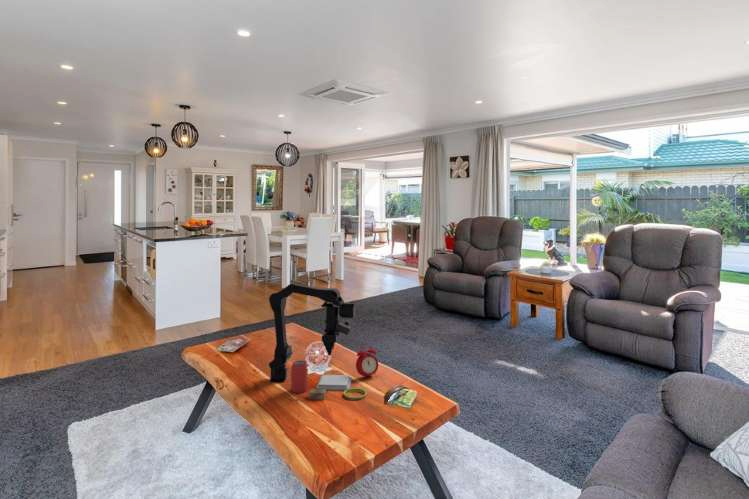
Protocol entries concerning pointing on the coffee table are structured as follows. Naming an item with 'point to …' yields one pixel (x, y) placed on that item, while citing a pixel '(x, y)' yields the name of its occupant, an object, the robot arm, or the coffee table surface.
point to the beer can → (299, 376)
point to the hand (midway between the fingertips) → (330, 352)
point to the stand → (334, 382)
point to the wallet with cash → (392, 391)
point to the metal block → (317, 394)
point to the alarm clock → (366, 362)
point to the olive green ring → (355, 391)
